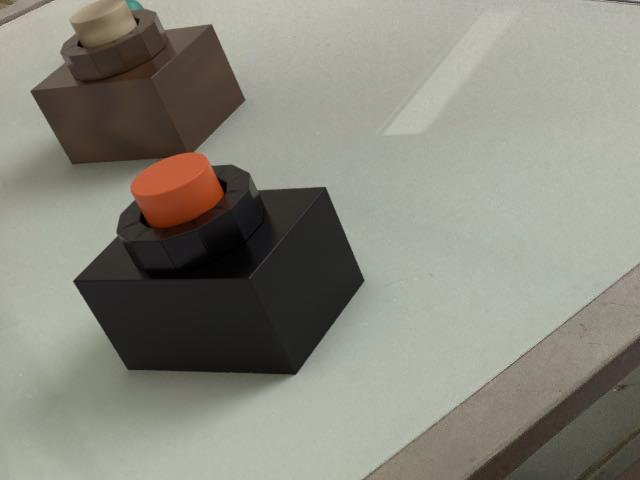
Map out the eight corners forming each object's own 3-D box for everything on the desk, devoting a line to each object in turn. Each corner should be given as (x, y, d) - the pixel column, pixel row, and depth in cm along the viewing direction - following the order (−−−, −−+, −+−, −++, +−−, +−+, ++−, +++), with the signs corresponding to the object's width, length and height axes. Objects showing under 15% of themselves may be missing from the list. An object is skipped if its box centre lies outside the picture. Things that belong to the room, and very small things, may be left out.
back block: (71, 165, 85) (15, 66, 80) (131, 110, 90) (81, 14, 84) (189, 157, 80) (137, 51, 75) (246, 100, 85) (200, -3, 80)
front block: (127, 370, 62) (52, 250, 57) (204, 282, 67) (141, 164, 62) (296, 375, 57) (231, 245, 52) (365, 281, 62) (312, 153, 57)
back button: (72, 53, 80) (57, 25, 78) (105, 27, 82) (91, -1, 81) (116, 48, 78) (102, 19, 77) (148, 21, 80) (135, -7, 79)
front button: (133, 232, 57) (113, 197, 55) (176, 188, 59) (158, 154, 58) (197, 230, 55) (179, 194, 54) (239, 185, 58) (222, 149, 56)
